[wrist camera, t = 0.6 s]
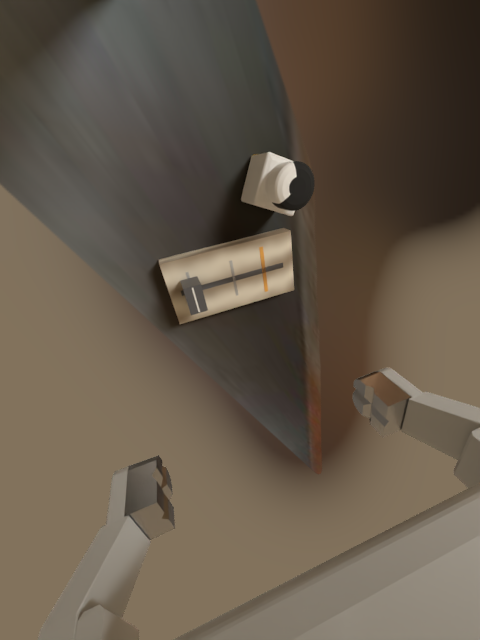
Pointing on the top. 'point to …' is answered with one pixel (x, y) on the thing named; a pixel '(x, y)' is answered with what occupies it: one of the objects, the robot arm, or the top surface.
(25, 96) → the top surface
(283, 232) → the control strip
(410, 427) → the robot arm
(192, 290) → the fader knob
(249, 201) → the medicine bottle
